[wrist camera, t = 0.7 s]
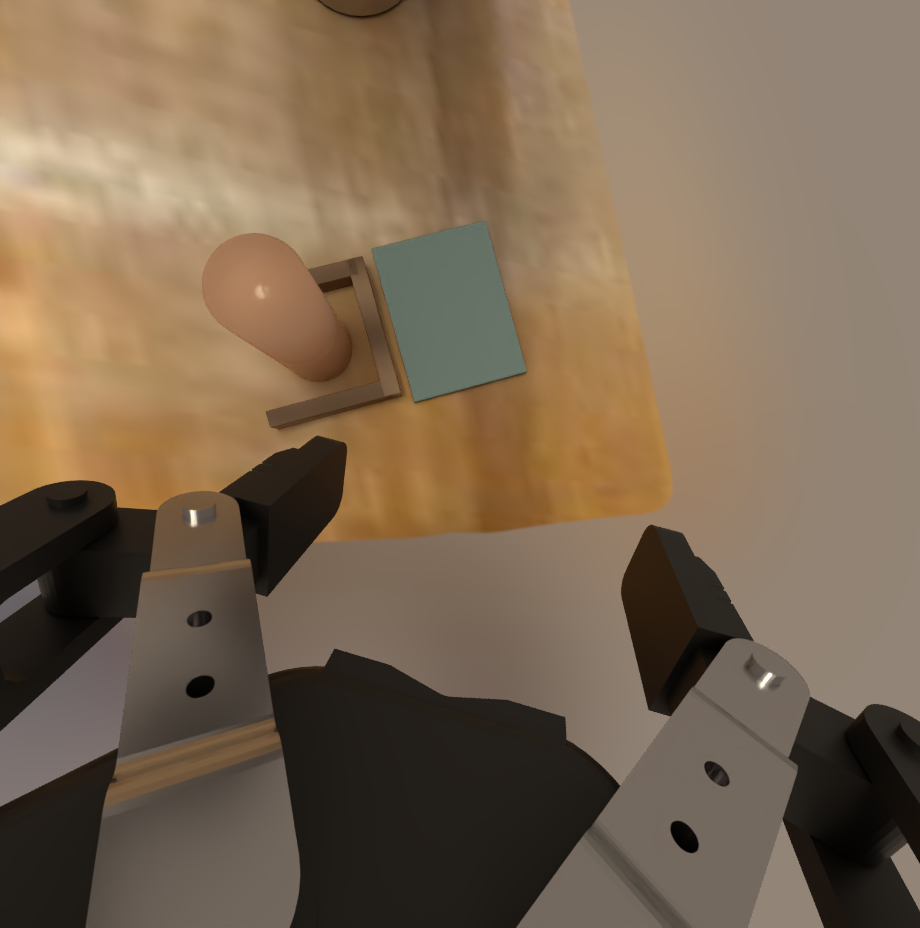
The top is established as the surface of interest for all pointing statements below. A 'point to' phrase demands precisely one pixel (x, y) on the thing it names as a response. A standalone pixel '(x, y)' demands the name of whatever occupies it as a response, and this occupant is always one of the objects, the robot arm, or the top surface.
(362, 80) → the top surface
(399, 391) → the holder
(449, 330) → the mat
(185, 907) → the robot arm
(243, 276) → the tall tan cylinder
